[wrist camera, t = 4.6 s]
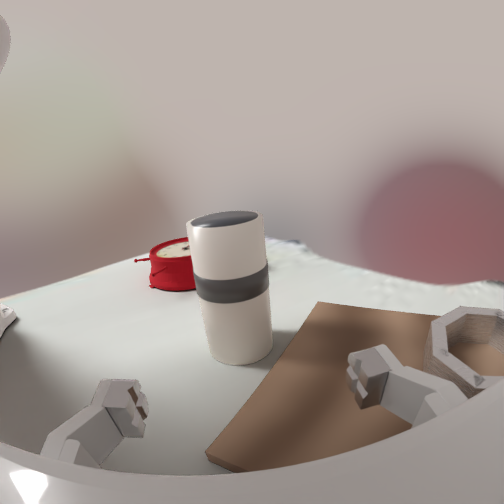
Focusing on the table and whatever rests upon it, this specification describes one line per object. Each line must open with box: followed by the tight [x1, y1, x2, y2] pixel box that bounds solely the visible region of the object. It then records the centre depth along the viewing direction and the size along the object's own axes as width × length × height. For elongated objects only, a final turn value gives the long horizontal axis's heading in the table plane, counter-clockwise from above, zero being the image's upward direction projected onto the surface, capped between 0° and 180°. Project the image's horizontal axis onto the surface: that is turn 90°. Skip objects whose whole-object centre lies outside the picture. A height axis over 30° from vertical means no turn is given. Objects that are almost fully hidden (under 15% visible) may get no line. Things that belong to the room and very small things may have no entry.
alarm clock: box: [134, 237, 196, 291], centre depth 38 cm, size 10×6×15 cm
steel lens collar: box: [423, 306, 504, 399], centre depth 13 cm, size 9×9×2 cm
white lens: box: [186, 211, 273, 365], centre depth 20 cm, size 5×5×10 cm
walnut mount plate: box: [205, 302, 504, 473], centre depth 14 cm, size 20×17×1 cm
